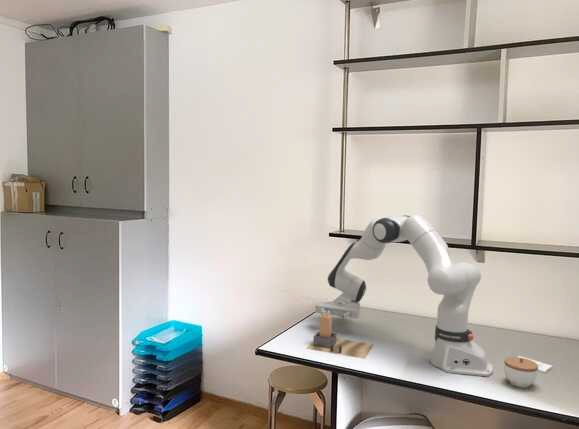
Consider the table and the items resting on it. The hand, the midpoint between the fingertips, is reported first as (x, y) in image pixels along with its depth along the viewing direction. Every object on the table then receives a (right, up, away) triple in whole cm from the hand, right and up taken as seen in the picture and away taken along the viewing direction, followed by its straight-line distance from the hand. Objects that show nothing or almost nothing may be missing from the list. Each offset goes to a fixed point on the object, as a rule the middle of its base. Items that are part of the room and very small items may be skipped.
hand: (332, 314), depth 210 cm
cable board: (+2, -12, -11) cm, 16 cm away
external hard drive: (+75, -16, -22) cm, 80 cm away
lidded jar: (+62, -16, -39) cm, 75 cm away
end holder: (-4, -10, -9) cm, 14 cm away
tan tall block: (-4, -10, -9) cm, 14 cm away
